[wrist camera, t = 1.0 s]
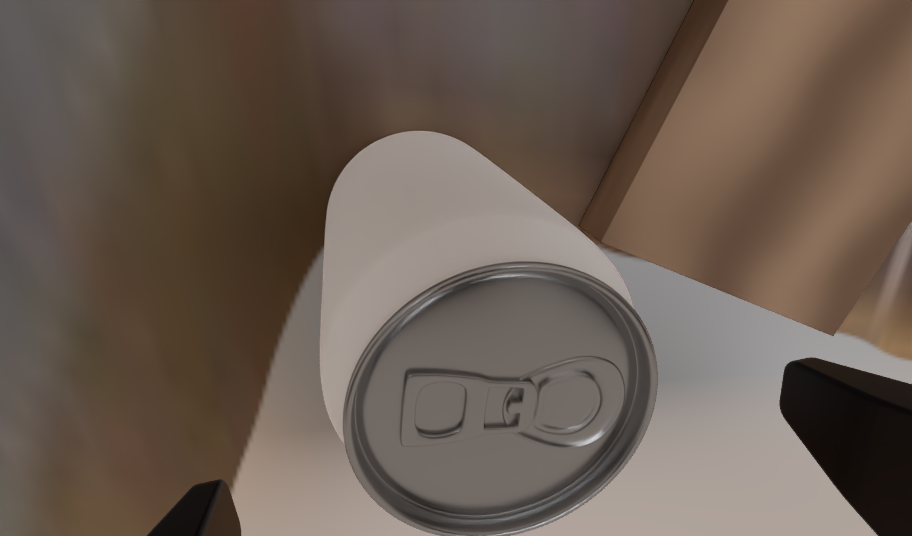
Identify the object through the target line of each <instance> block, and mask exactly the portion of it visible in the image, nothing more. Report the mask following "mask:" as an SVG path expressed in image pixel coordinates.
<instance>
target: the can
mask: <svg viewBox="0 0 912 536" xmlns="http://www.w3.org/2000/svg"><path fill="white" fill-rule="evenodd" d="M320 379H321V387H322V393H323V398H324V402H325V406H326V409H327V413H328V416H329V418H330V421H331V423H332V425H333V427H334V429H335V431H336V433H337V434H338V436H339V438H340V439H341V441H342V442H343V444H344V445H345V448H346V452H347V455H348V459H349V461H350V464H351V466H352V469H353V471H354V473H355V475H356V477H357V479H358V480H359V482H360V483H361V485H362V486H363V488H364V489H365V490H366V492H367V493H368V494H369V495H370V497H371V498H373V500H374V501H375V502H376V503H377V504H378V505H379V506H381V507H382V508H383V509H384V510H386V511H387V512H388V513H389V514H391V515H392V516H394V517H395V518H397V519H398V520H400V521H402V522H404V523H406V524H408V525H410V526H413V527H415V528H417V529H419V530H422V531H425V532H428V533H432V534H436V535H440V536H510V535H515V534H519V533H523V532H526V531H530V530H533V529H536V528H539V527H542V526H544V525H547V524H549V523H551V522H553V521H556V520H558V519H560V518H562V517H564V516H566V515H567V514H569V513H571V512H573V511H574V510H576V509H577V508H579V507H580V506H582V505H584V504H585V503H587V502H588V501H589V500H591V499H592V498H593V497H594V496H596V495H597V494H598V493H599V492H601V491H602V490H603V489H604V488H605V487H606V486H607V485H608V484H609V483H610V482H611V481H612V480H613V479H614V478H615V477H616V476H617V475H618V474H619V472H621V470H622V469H623V468H624V467H625V465H626V464H627V463H628V461H629V460H630V459H631V457H632V456H633V454H634V453H635V451H636V449H637V448H638V446H639V444H640V443H641V440H642V439H643V437H644V435H645V432H646V430H647V428H648V425H649V422H650V420H651V417H652V413H653V410H654V406H655V401H656V395H657V385H658V384H657V383H658V372H657V362H656V356H655V351H654V348H653V344H652V341H651V338H650V336H649V334H648V331H647V329H646V327H645V325H644V324H643V322H642V320H641V318H640V317H639V315H638V314H637V313H636V311H635V310H634V306H633V303H632V300H631V297H630V294H629V291H628V289H627V287H626V285H625V282H624V281H623V279H622V277H621V275H620V274H619V272H618V271H617V269H616V268H615V266H614V265H613V264H612V262H611V261H610V260H609V259H608V257H607V256H606V255H605V254H604V253H603V252H602V251H601V249H600V248H599V247H598V246H597V245H596V244H594V243H593V242H592V241H591V240H590V239H589V238H588V237H587V236H585V235H584V234H583V233H582V232H581V231H580V230H578V229H577V228H576V227H575V226H573V225H572V224H571V223H570V222H569V221H567V220H566V219H565V218H564V217H562V216H561V215H560V214H558V213H557V212H556V211H555V210H553V209H552V208H551V207H550V206H548V205H547V204H546V203H544V202H543V201H542V200H541V199H539V198H538V197H537V196H535V195H534V194H533V193H532V192H530V191H529V190H528V189H526V188H525V187H524V186H522V185H521V184H520V183H519V182H517V181H516V180H515V179H513V178H512V177H511V176H510V175H508V174H507V173H506V172H504V171H503V170H502V169H500V168H499V167H498V166H496V165H495V164H494V163H492V162H491V161H490V160H488V159H487V158H486V157H484V156H483V155H482V154H480V153H479V152H478V151H476V150H475V149H473V148H472V147H470V146H469V145H467V144H465V143H464V142H462V141H460V140H458V139H456V138H453V137H451V136H448V135H445V134H441V133H436V132H430V131H407V132H401V133H397V134H393V135H390V136H387V137H384V138H382V139H380V140H378V141H376V142H374V143H372V144H370V145H369V146H367V147H366V148H364V149H363V150H362V151H360V152H359V153H358V154H357V155H356V156H355V157H354V158H353V159H352V160H351V161H350V162H349V163H348V164H347V165H346V167H345V168H344V169H343V171H342V172H341V174H340V175H339V177H338V179H337V181H336V183H335V185H334V187H333V189H332V192H331V195H330V198H329V202H328V207H327V214H326V225H325V241H324V259H323V279H322V300H321V323H320Z"/></svg>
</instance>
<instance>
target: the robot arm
mask: <svg viewBox="0 0 912 536" xmlns="http://www.w3.org/2000/svg"><path fill="white" fill-rule="evenodd" d="M780 409H781V413H782V414H783V417H784V418H785V420H786V421H787V422H788V424H789V425H790V427H791V428H792V429H793V431H794V432H795V433H796V435H797V436H798V437H799V439H800V440H801V441H802V443H803V444H804V445H805V446H806V448H807V449H808V451H809V452H810V453H811V455H812V456H813V457H814V459H815V460H816V461H817V463H818V464H819V465H820V466H821V468H822V469H823V471H824V472H825V473H826V475H827V476H828V477H829V479H830V480H831V481H832V483H833V484H834V485H835V486H836V488H837V489H838V490H839V491H840V493H841V494H842V495H843V497H844V498H845V499H846V500H847V501H848V502H849V504H850V505H851V506H852V507H853V508H854V509H855V510H856V512H857V513H858V514H859V515H860V516H861V517H862V518H863V519H864V520H865V522H866V523H867V524H868V525H869V526H870V527H871V528H872V529H873V530H874V532H875V533H876V534H877V535H878V536H912V384H908V383H905V382H901V381H898V380H894V379H890V378H887V377H883V376H880V375H876V374H872V373H868V372H865V371H861V370H858V369H854V368H850V367H847V366H843V365H839V364H836V363H832V362H828V361H825V360H821V359H818V358H805V359H800V360H796V361H792V362H790V363H788V364H787V365H786V367H785V370H784V375H783V382H782V388H781V395H780ZM147 536H241V527H240V521H239V518H238V515H237V512H236V509H235V506H234V502H233V499H232V496H231V493H230V490H229V487H228V485H227V483H226V482H225V481H223V480H215V481H210V482H205V483H200V484H197V485H195V486H193V487H192V488H191V489H190V490H189V491H188V492H187V493H186V494H185V495H184V496H183V497H182V498H181V499H180V500H179V502H178V503H177V504H176V505H175V506H174V507H173V508H172V509H171V510H170V511H169V512H168V513H167V515H166V516H165V517H164V518H163V519H162V520H161V521H160V522H159V523H158V524H157V525H156V526H155V527H154V529H153V530H152V531H151V532H150V533H149V534H148V535H147Z"/></svg>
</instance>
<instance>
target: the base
mask: <svg viewBox="0 0 912 536" xmlns="http://www.w3.org/2000/svg"><path fill="white" fill-rule="evenodd" d="M911 221H912V0H694V2H693V4H692V6H691V8H690V10H689V12H688V13H687V15H686V17H685V19H684V21H683V23H682V25H681V27H680V29H679V31H678V33H677V35H676V37H675V39H674V41H673V43H672V45H671V47H670V49H669V51H668V53H667V55H666V56H665V58H664V60H663V62H662V64H661V66H660V68H659V70H658V72H657V74H656V76H655V78H654V80H653V82H652V84H651V86H650V88H649V90H648V92H647V94H646V96H645V98H644V99H643V101H642V103H641V105H640V107H639V109H638V111H637V113H636V115H635V117H634V119H633V121H632V123H631V125H630V127H629V129H628V131H627V133H626V135H625V137H624V139H623V141H622V143H621V144H620V146H619V148H618V150H617V152H616V154H615V156H614V158H613V160H612V162H611V164H610V166H609V168H608V170H607V172H606V174H605V176H604V178H603V180H602V182H601V184H600V186H599V187H598V189H597V191H596V193H595V195H594V197H593V199H592V201H591V203H590V205H589V207H588V209H587V211H586V213H585V215H584V217H583V219H582V221H581V223H580V225H579V226H580V227H582V228H583V229H584V230H586V231H587V232H588V233H590V234H591V235H592V236H594V237H595V238H596V239H598V240H599V241H600V242H602V243H605V244H607V245H609V246H612V247H614V248H617V249H619V250H622V251H624V252H627V253H629V254H632V255H634V256H637V257H639V258H642V259H644V260H646V261H649V262H651V263H654V264H656V265H659V266H661V267H664V268H666V269H669V270H671V271H674V272H676V273H679V274H681V275H684V276H686V277H688V278H691V279H694V280H696V281H698V282H701V283H703V284H706V285H708V286H711V287H713V288H716V289H718V290H720V291H723V292H726V293H728V294H731V295H733V296H735V297H738V298H740V299H743V300H745V301H748V302H750V303H753V304H755V305H758V306H760V307H762V308H765V309H767V310H770V311H772V312H775V313H777V314H780V315H782V316H785V317H787V318H790V319H792V320H795V321H797V322H799V323H802V324H804V325H807V326H809V327H812V328H814V329H817V330H819V331H822V332H824V333H827V334H829V335H832V336H834V334H835V333H836V331H837V330H838V328H839V327H840V325H841V324H842V322H843V321H844V320H845V318H846V317H847V315H848V314H849V312H850V311H851V309H852V308H853V306H854V305H855V303H856V302H857V300H858V299H859V297H860V296H861V295H862V293H863V292H864V290H865V289H866V287H867V286H868V284H869V283H870V281H871V280H872V278H873V277H874V275H875V274H876V272H877V271H878V270H879V268H880V267H881V265H882V264H883V262H884V261H885V259H886V258H887V256H888V255H889V253H890V252H891V250H892V249H893V247H894V246H895V245H896V243H897V242H898V240H899V239H900V237H901V236H902V234H903V233H904V231H905V230H906V228H907V227H908V225H909V224H910V222H911Z"/></svg>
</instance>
